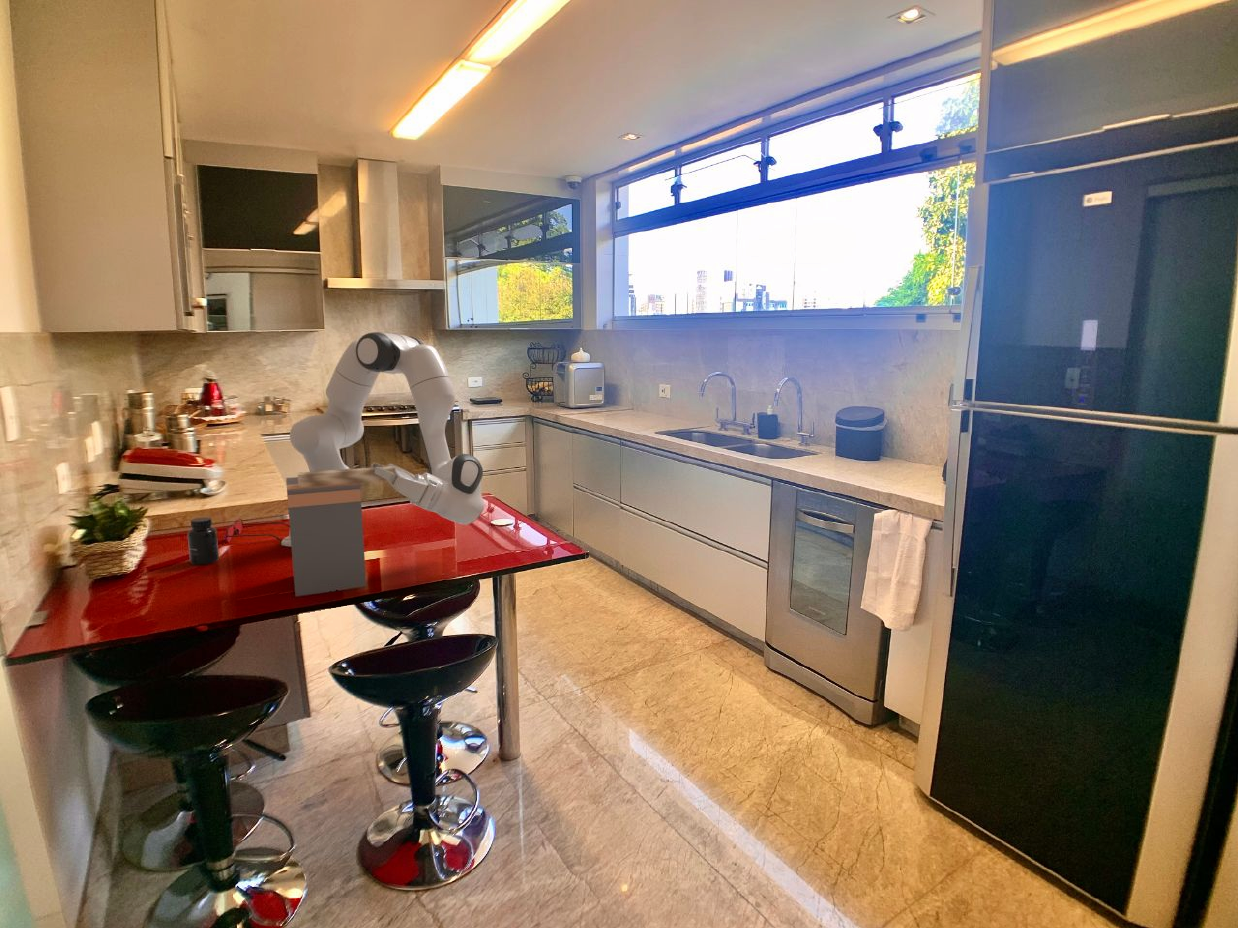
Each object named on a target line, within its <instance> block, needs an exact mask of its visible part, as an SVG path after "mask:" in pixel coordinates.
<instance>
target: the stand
mask: <svg viewBox="0 0 1238 928" xmlns="http://www.w3.org/2000/svg"><path fill="white" fill-rule="evenodd" d="M285 481H286V484H285V485H286V497H287V507H288V518H289V519H288V520H289V525H290V527H289V532H290V535H291V554H292V555H291V556H292V557H291V559H292V570H293V572H292V573H293V582H294V593H295V597H302V596H310V595H317V594H323V593H331V592H336V590H338V591H343V590H351V589H356V588H357V589H359V588H364V587H367V579H366V578H367V577H366V576H367V575H366V560H365V559H366V558H365V544H364V527H363V525H364V524H363V512H362V511H363V510H362V508H363V507H362V493H361V492H362V491H361V490H362V489H361V483H348V484H335V485H323V486H310V487H299V486H298V476H297V477H285ZM330 591H331V592H330Z"/></svg>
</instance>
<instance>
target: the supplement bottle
mask: <svg viewBox="0 0 1238 928" xmlns="http://www.w3.org/2000/svg"><path fill="white" fill-rule="evenodd" d="M212 525H213V523H212V518H211V517H206V516H204V517H202V516H201V517H196V518H193V519H191V520H190V528H191V529H190V530H188V532H187V543H188V553H189V554H188V555H189V562H190V564H192V565H194V566H203V565H210V564H214V563H216V562H217V561H219V558H220V556H219V555H220V554H219V544H218V533H217V532H218V531H217V529H216V528H215V527H214V526H212Z"/></svg>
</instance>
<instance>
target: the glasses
mask: <svg viewBox="0 0 1238 928" xmlns="http://www.w3.org/2000/svg"><path fill="white" fill-rule="evenodd" d="M277 524H280V525H285V526H287V527H289V528H290V524H287V523H285V522H262V523H259V522H258V523H256V522H255V523H243V519H241V518H239V519H237V520H235V521H234V523H233V524H230V525H229V526H228V528H226V535H225V534H224V535H223V538H224V539H225V538H226V541H227V543H229V544H230V541H231V540H232V538H237V537H242V538H243V537H261V536H270V537H273V538H275V539H276V540H279V541H280V542H282V540H283V539H282V538H280V537H278V536H275V535H273V534H271V533H270V534H269V533H266V534H264V533H263V534H241V533H242V530H243V526H252V525H253V526H255V525H256V526H257V525H259V526H260V525H277ZM234 529H235V530H234ZM237 533H238V534H237ZM239 534H240V535H239Z"/></svg>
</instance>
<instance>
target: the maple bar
mask: <svg viewBox="0 0 1238 928" xmlns="http://www.w3.org/2000/svg"><path fill="white" fill-rule="evenodd" d="M384 466H385V467H380V468H382V469H384V470H386V471H389V472H392V473H394V472H395V468H394V466H388V465H384ZM375 468H376V467H371V466H370V467H360V468H359V467H358V468H350V469H342V470H328V471H314V472H310V471H301V472H297V477H298V486H299V487H310V486H323V485H335V484H348V483H360V484H361V483H371V482H384V481H387V480H386V479H384V478H382V477H381V476H379V475H377V474H375V473H374V470H375ZM394 474H395V473H394Z"/></svg>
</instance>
